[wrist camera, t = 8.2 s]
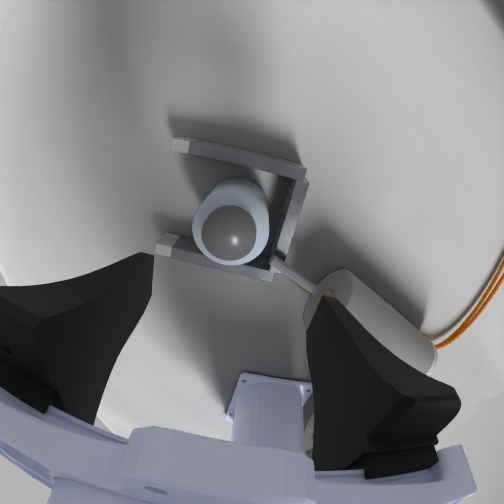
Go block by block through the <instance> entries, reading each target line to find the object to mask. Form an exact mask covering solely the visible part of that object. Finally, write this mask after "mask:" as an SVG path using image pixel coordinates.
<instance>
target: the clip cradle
mask: <svg viewBox="0 0 504 504" xmlns="http://www.w3.org/2000/svg"><path fill="white" fill-rule="evenodd" d="M170 151H175V152H181V153H186V154H191V155H196V156H201V157H206V158H211V159H215V160H220V161H225V162H229V163H233V164H238V165H242V166H246V167H250V168H254V169H258V170H262V171H266V172H270V173H274V174H278V175H282V176H285V177H289V178H292V181H291V185H290V188H289V191H288V195H287V198H286V202H285V205H284V209H283V212H282V215H281V219H280V222H279V226H278V229H277V232H276V236H275V239H274V242H273V246H272V249H271V252H270V256H269V257H266V256H262V255H258V256H257V257H256V258H254V259H253V260H251V261H249V262H247V263H244V264H241V265H224V264H220V263H217V262H215V261H213V260H211V259H209V258H208V257H207V256H205V255H204V254H203V253H202V252H201V250H200V249H199V248H198V246H197V244H196V242H195V240H194V239H192V238H188V237H184V236H180V235H176V234H172V233H167V232H165V233H164V234H163V236H162V237H161V238H160V239H159V240H158V241H157V243H156V246H155V254H159V255H163V256H167V257H171V258H174V259H178V260H182V261H186V262H190V263H194V264H198V265H202V266H206V267H210V268H215V269H219V270H223V271H227V272H231V273H235V274H239V275H244V276H248V277H252V278H256V279H261V280H265V281H269V282H272V280H273V277H274V274H275V273H280V274H281V272H280V271H279V270H277V269H276V268H274V267H273V266H272V265H270V264H269V260H270V259H271V257H272V256H274V255H275V256H276V257H278V258H279V259H280V260H282V261H283V262H285V259H286V256H287V252H288V249H289V246H290V243H291V240H292V237H293V234H294V231H295V228H296V224H297V221H298V218H299V215H300V212H301V209H302V205H303V202H304V199H305V196H306V192H307V189H308V186H309V182H308V181H307V180H306V178H305V173H306V170H307V169H306V168H305V167H304V166H303V165H302V164H299V163H295V162H292V161H288V160H284V159H281V158H277V157H273V156H269V155H265V154H261V153H257V152H253V151H249V150H245V149H240V148H236V147H232V146H227V145H222V144H218V143H213V142H208V141H203V140H198V139H192V138H187V137H175V138H172V139H171V144H170Z"/></svg>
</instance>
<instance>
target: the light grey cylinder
mask: <svg viewBox="0 0 504 504" xmlns="http://www.w3.org/2000/svg"><path fill="white" fill-rule="evenodd" d="M192 232H193V237H194V240H195V242H196V244H197V246H198V248H199V249H200V250H201V252H202V253H203V254H204V255H205V256H207V257H208V258H209V259H211V260H213V261H215V262H217V263H220V264H224V265H241V264H244V263H247V262H249V261H251V260H253V259H254V258H256V257H257V256H258V255H259V254H260V253H261V252H262V251H263V249H264V248H265V246H266V244H267V241H268V237H269V208H268V201H267V198H266V196H265V194H264V192H263V191H262V190H261V188H260V187H259V186H257V185H256V184H255V183H253V182H251V181H249V180H246V179H241V178H233V179H228V180H225V181H223V182H221V183H220V184H218V185H217V186H216V187H215V188H214V189H213V190H212V192H211V193H210V194H209V195H208V197H207V198H206V199H205V200H204V202H203V203H202V204H201V205H200V207H199V208H198V210H197V211H196V213H195V215H194V219H193V224H192Z"/></svg>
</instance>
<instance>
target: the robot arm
mask: <svg viewBox="0 0 504 504" xmlns="http://www.w3.org/2000/svg"><path fill="white" fill-rule="evenodd" d="M153 265H154V255H150V254H146V253H143V252H140V253H137V254H134V255H132V256H130V257H127V258H125V259H123V260H120V261H118V262H116V263H114V264H111V265H109V266H107V267H104V268H101V269H99V270H96V271H94V272H91V273H88V274H85V275H82V276H79V277H75V278H72V279H68V280H64V281H59V282H53V283H48V284H41V285H32V286H0V454H1V455H2V456H4V457H5V458H7V459H8V460H9V461H10V462H12V463H13V464H15V465H16V466H17V467H19V468H20V469H22V470H23V471H24V472H26V473H27V474H29V475H30V476H32V477H33V478H35V479H37V480H38V481H39V482H41V483H43V484H44V485H46V486H48V487H49V488H51V489H52V492H51V494H50V497H49V500H48V502H47V504H457V503H459V502H461V501H462V500H464V499H466V498H467V497H469V496H471V495H472V494H474V493H475V492H476V491H477V487H476V484H475V482H474V478H473V475H472V472H471V469H470V467H469V464H468V461H467V458H466V455H465V453H464V450H463V448H462V445H460V444H459V445H455V446H451V447H446V448H443V449H441V450H439V451H437V452H436V450H435V447H434V445H437V444H438V438H437V436H436V435H437V434H438V433H439V432H440V431H441V430H443V429H444V428H445V427H446V426H447V425H448V424H449V423H450V422H451V421H452V420H453V419H454V418H455V416H456V415H457V414H458V412H459V410H460V408H461V400H460V398H459V396H458V394H457V392H456V390H455V389H454V387H452V386H449V385H447V384H445V383H442V382H440V381H438V380H435V379H433V378H431V377H429V376H427V375H426V374H424V373H422V372H420V371H418V370H417V369H415V368H413V367H412V366H410V365H409V364H407V363H406V362H404V361H403V360H401V359H400V358H399V357H397V356H396V355H394V354H393V353H392V352H391V351H390V350H388V349H387V348H386V347H385V346H383V345H382V344H381V343H380V342H379V341H378V340H377V339H376V338H375V337H374V336H373V335H371V334H370V333H369V332H368V331H367V330H366V329H365V328H364V327H363V326H362V324H361V323H360V322H359V321H358V320H357V319H356V318H355V317H354V316H353V315H352V314H351V313H350V312H349V311H348V309H347V308H346V307H345V306H344V305H343V304H342V303H341V302H340V301H339V300H338V299H336V298H335V297H330V296H325V295H322V297H321V299H320V301H319V304H318V306H317V308H316V311H315V313H314V315H313V318H312V320H311V322H310V324H309V327H308V329H307V331H306V347H307V357H308V364H309V370H310V376H311V383H308V382H301V381H293V380H287V379H280V378H274V377H268V376H262V375H256V374H251V373H245V372H244V373H241V375H240V377H239V380H238V383H237V386H236V389H235V391H234V394H233V397H232V400H231V402H230V405H229V408H228V411H227V413H226V417H225V418H226V419H227V420H229V421H233V428H232V437H231V441H225V440H220V439H214V438H209V437H204V436H200V435H195V434H191V433H187V432H183V431H179V430H175V429H168V428H162V427H156V426H149V427H142V428H137V429H133V431H132V433H131V435H130V437H129V439H126V438H123V437H121V436H118V435H115V434H113V433H110V432H107V431H105V430H102V429H100V428H97V427H95V426H93V425H94V421H95V418H96V414H97V411H98V408H99V404H100V401H101V398H102V395H103V392H104V390H105V387H106V384H107V382H108V379H109V376H110V374H111V371H112V369H113V367H114V364H115V362H116V360H117V357H118V356H119V354H120V352H121V350H122V348H123V346H124V345H125V343H126V342H127V340H128V338H129V337H130V335H131V333H132V332H133V330H134V328H135V327H136V325H137V324H138V322H139V320H140V319H141V317H142V315H143V314H144V311H145V309H146V307H147V305H148V302H149V300H150V298H151V294H152V278H153ZM312 392H313V398H314V439H313V453H312V459H310V458H309V457H308V456H306V443H305V430H304V418H303V406H304V404H305V403H306V401H307V400H308V398H309V397H310V395H311V394H312Z"/></svg>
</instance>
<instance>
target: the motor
mask: <svg viewBox="0 0 504 504" xmlns="http://www.w3.org/2000/svg"><path fill="white" fill-rule="evenodd" d="M269 264H270V265H272V266H273V267H274V268H276V269H277V270H279V271H280V272H282V273H283V274H284V275H286V276H287V277H289V278H290V279H292V280H293V281H294V282H296V283H297V284H299V285H300V286H301V287H303V288H304V289H306V290H307V291H309V292H310V293H311V295H310V296H309V298H308V301H307V303H306V306H305V309H304V315H303V320H304V324H305V326H306V327H307V328H308V327H309V324H310V322H311V320H312V318H313V315H314V313H315V311H316V308H317V306H318V304H319V301H320V299H321V297H322V295H325V296H330V297H335V298H336V299H338V300H339V301H340V302H341V303H342V304H343V305H344V306H345V307H346V308H347V309H348V311H349V312H350V313H351V314H352V315H353V316H354V317H355V318H356V319H357V320H358V321H359V322H360V323H361V324H362V326H363V327H364V328H365V329H366V330H367V331H368V332H369V333H370V334H371V335H373V336H374V337H375V338H376V339H377V340H378V341H379V342H380V343H381V344H382V345H383V346H385V347H386V348H387V349H388V350H390V351H391V352H392V353H393V354H394V355H396V356H397V357H399V358H400V359H401V360H403V361H404V362H406V363H407V364H409V365H410V366H412V367H413V368H415V369H417V370H418V371H420V372H422V373H424V374H426V375H427V376H430V375H431V374H432V372H433V371H434V369H435V366H436V363H437V358H438V354H437V349H440V348H442V347H445V346H446V345H448V344H450V343H451V342H453V341H454V340H455V339H457V338H458V337H459V336H460V335H461V334H462V333H463V332H464V331H465V330H466V329H467V328H468V327H469V326H470V325H471V324H472V323H473V322H474V321H475V320H476V318H477V317H478V316H479V315H480V314H481V312H482V311H483V310H484V308H485V307H486V306H487V304H488V303H489V301H490V300H491V299H492V297H493V296H494V294H495V293H496V291H497V290H498V288H499V286H500V285H501V283H502V282H503V280H504V273H503V275H502V276H501V278H500V280H499V281H498V283H497V284H496V286H495V287H494V289H493V290H492V292H491V293H490V295H489V296H488V298H487V299H486V297H487V295H488V294H489V292H490V290H491V289H492V287H493V285H494V284H495V282H496V280H497V278H498V277H499V275H500V273H501V271H502V269H503V267H504V259H503V261H502V263H501V265H500V267H499V269H498V271H497V273H496V275H495V277H494V278H493V280H492V282H491V284H490V285H489V287H488V289H487V290H486V292H485V294H484V295H483V297H482V298H481V300H480V301H479V303H478V304H477V306H476V307H475V308H474V310H473V311H472V312H471V314H470V315H469V316H468V317H467V319H466V320H465V321H464V322H463V323H462V325H461V326H460V327H459V328H458V329H457V330H456V331H455V332H454V333H453V334H452V335H451V336H449V337H448V338H447V339H445V340H444V341H443V342H441V343H439V344H437V345H434V344H433V343H432V342H431V341H430V340H429V339H428V338H427V337H426V336H424V335H423V334H422V333H421V332H420V331H419V330H418V329H417V328H416V327H414V326H413V325H412V324H411V323H410V322H409V321H408V320H406V319H405V318H404V317H403V316H402V315H401V314H400V313H398V312H397V311H396V310H395V309H394V308H393V307H392V306H390V305H389V304H388V303H387V302H386V301H385V300H383V299H382V298H381V297H380V296H379V295H377V294H376V293H375V292H374V291H373V290H372V289H370V288H369V287H368V286H367V285H366V284H364V283H363V282H362V281H361V280H360V279H358V278H357V277H356V276H355V275H353V274H352V273H351V272H350V271H348V270H345V269H341V270H336V271H334V272H332V273H330V274H329V275H327V276H326V277H325V278H324V279H323V280H321V282H320V283H319V284H318V285H317V286H316V285H315V284H314V283H312V282H311V281H310V280H308V279H307V278H305V277H304V276H303V275H301V274H300V273H298V272H297V271H296V270H294V269H293V268H292V267H290V266H289V265H287V264H286V263H285V262H283V261H282V260H280V259H279V258H278V257H276V256H275V255H274V256H272V257H271V259H270V260H269ZM485 299H486V301H485V302H484V300H485ZM483 302H484V304H483V305H482V306H481V304H482V303H483ZM480 306H481V308H480V309H479V307H480ZM478 309H479V310H478ZM477 310H478V312H477ZM476 312H477V313H476ZM475 313H476V314H475ZM474 314H475V315H474ZM473 316H474V317H473ZM472 317H473V318H472ZM471 318H472V319H471ZM470 319H471V320H470Z"/></svg>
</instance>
